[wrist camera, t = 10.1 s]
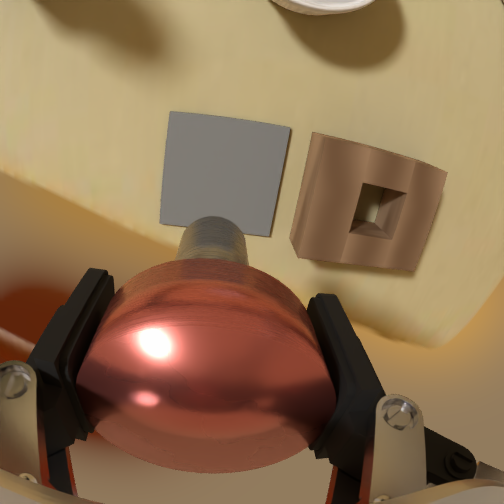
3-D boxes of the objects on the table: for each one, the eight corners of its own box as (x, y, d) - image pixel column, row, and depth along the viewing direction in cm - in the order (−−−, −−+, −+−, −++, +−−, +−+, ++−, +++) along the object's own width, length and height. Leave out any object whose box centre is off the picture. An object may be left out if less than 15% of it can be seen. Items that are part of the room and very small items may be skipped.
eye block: (424, 162, 27) (447, 172, 24) (396, 252, 31) (414, 271, 28) (312, 131, 26) (326, 137, 22) (289, 237, 30) (297, 257, 26)
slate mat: (289, 127, 25) (290, 127, 25) (268, 235, 30) (269, 236, 29) (170, 111, 24) (169, 111, 24) (160, 222, 28) (159, 223, 28)
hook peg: (152, 176, 13) (48, 303, 5) (290, 192, 14) (378, 335, 6) (148, 293, 15) (102, 458, 7) (265, 306, 16) (296, 473, 8)
